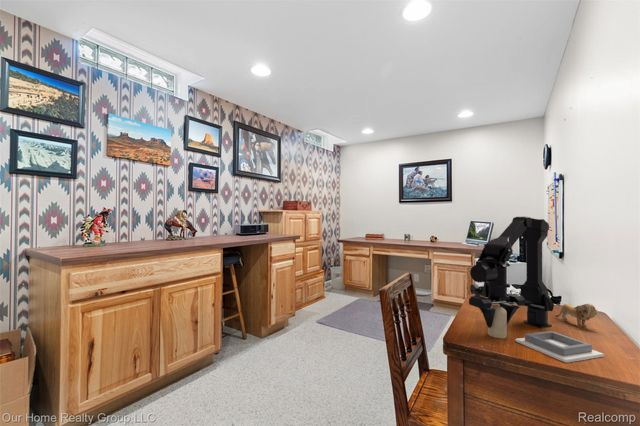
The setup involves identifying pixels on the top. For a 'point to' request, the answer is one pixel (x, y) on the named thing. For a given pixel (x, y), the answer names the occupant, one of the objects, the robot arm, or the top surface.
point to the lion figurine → (578, 313)
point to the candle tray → (559, 346)
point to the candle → (499, 323)
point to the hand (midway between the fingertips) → (497, 326)
